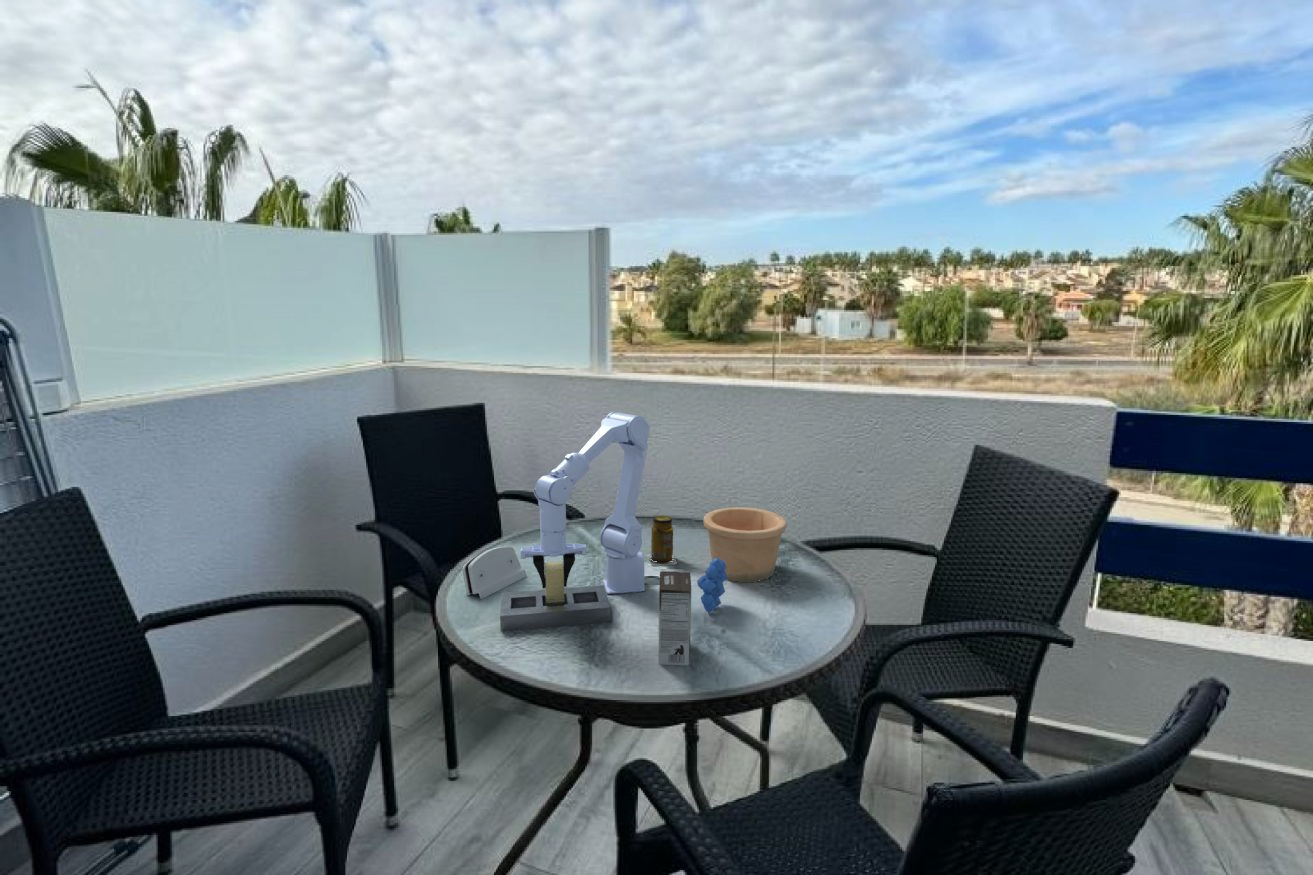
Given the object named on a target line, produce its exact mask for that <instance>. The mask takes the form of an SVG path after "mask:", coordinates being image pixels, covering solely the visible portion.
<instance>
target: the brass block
mask: <svg viewBox="0 0 1313 875" xmlns="http://www.w3.org/2000/svg"><path fill="white" fill-rule="evenodd" d="M544 568H545V582H546V588H544V590H545V593H546V603H553V602H564V588H565V587H564V568H563V561H551V562H550V561H549V562H544Z"/></svg>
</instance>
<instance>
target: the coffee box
mask: <svg viewBox="0 0 1313 875" xmlns="http://www.w3.org/2000/svg"><path fill="white" fill-rule="evenodd" d="M691 578H692V577H691V572H689V571H686V572H685V571H676V570H675V571H674V570H673V571H672V570H671V571H669V570H667V571H666V570H665V571H664V570H663V571H662V570H661V571H659V586H658V590H659V591H658V665H661V666H663V665H664V666H666V665H667V666H690V661H691V659H690V658H691V634H692V633H691V629H692V627H691V626H692V622H691V621H692V580H691Z"/></svg>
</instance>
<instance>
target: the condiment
mask: <svg viewBox="0 0 1313 875" xmlns="http://www.w3.org/2000/svg"><path fill="white" fill-rule="evenodd" d="M650 544H651V545H650V546H651V549H650V551H651V552H650V553H649V555H647V554H646V556H650V554H651V556H652V557H651V558H648V557H647V559H648V560H649V559H652V560H653V561H657V562H653V561H652V560H649V561H650V565H652V566H656V567H657V566H660V567H661V566H670V565H678V564H679V562H678V561H677V560H676V558H675V557H674V558H672V555H673V553H674V527H673V519H672V517H671V516H668V515H657V516H654V517H653V519H652V527H651V543H650ZM673 556H674V555H673ZM672 559H674V560H672ZM669 561H673V562H669ZM674 563H675V564H674ZM677 563H678V564H677Z"/></svg>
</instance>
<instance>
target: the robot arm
mask: <svg viewBox="0 0 1313 875" xmlns="http://www.w3.org/2000/svg"><path fill="white" fill-rule="evenodd" d="M650 428H651V426H650V425H649V423H648V421H647V419H646V418H645V417H644V416H642V415H633V414H628V413H624V412H623V413H622V412H618V411H612V412H609V413H608V414H607V416H606V417H604V418H603V419H602V420H601V423H600V427H599V428H598V429H597V431H596V432H595V433H594V434H593V435H592V437H590V439H589V440H588V441H587V442H586V443H585V445H584V446H583V447H582V448H581V449H580V450H579V452H571V453H567V454H566V455H565V456H564V460H562V461H561V462H560V463H559V464H558V465H557V466H556V467H555V468H553V469H552V470H551V471H550V473H549V474H546V475H543V476H541V477H540V478H538V480H537V481H536V483H535V485H534V486H535V487H534V488H533V491H532V492H533V496H535V498H536V500H537V504H538V506H539V528H540V529H539V530H540V532H539V533H540V537H539V538H540V544H538V545H533V546H532V545H531V546H527V547H521V548H520V559H521V560H526V559H527V558H528V559H529V558H532V562H533V563H532V564H533V565H534V567H535V569H536V571H537V573H538V575H539V578H540V581H541V586H542V587H541V588H542V589H545V588H546V582H545V557H550V558H555V557H557V558H558V557H559V556H560V557H561V556H562V560H563V561H562V562H563V568H564V588H567V586H568V585H567V584H568V580H569V576H570V572H571V570H572V568H573V565H574V564H575V562H576V555H581V556H587V545H586V543H582V544H581V543H569V542H568V543H567V512H566V511H567V508H566V507H567V506H566V503H567V502H568V501H569V500H570V498H571V496H572V491H573V489H574V487H575V485H577V483H578V482H579V481H580V480H581V479H583V477H584V476H585V475H586V474H587V473H588V472H589V471H590V463H591V462H592V461H593V460H594V459H596V458H597V457H598V456H599V455H600V454H602V453H603V451H605V450H607V448H608V447H609V446H611V445H612V444H617V443H618V445H619V446H620V448H621V449H622V450H623V452H624V454H623V459H622V466H621V471H620V476H619V482H618V485H617V486H618V488H617V492H616V493H617V494H616V497H615V498H616V499H615V503H614V509H613V513H612V514H611V515H610V516H608V517H607V518H606V519H605V520H604V525H603V528H602V529H601V531H600V534H599V542H600V545H601V546H602V548H604V552H605V553H606V556H605V557H606V564H605V565H606V568H605V569H606V579H603V585H604V587H605V591H606V594H607V595H611V594H624V593H637V592H645V590H646V589H645V557H644V553H643V552H642V551H640V550H641V548H642V546H643V538H642V530H643V527H642V525H641V524H640V522H639V521H638V519H637V518H636V513H637V510H638V509H637V508H638V505H639V504H638V503H639V497H640V494H641V493H640V492H641V487H642V481H643V476H644V475H643V474H644V470H645V465H646V459H647V453H648V449H649V448H648V447H649V446H648V440H649V434H650Z"/></svg>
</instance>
